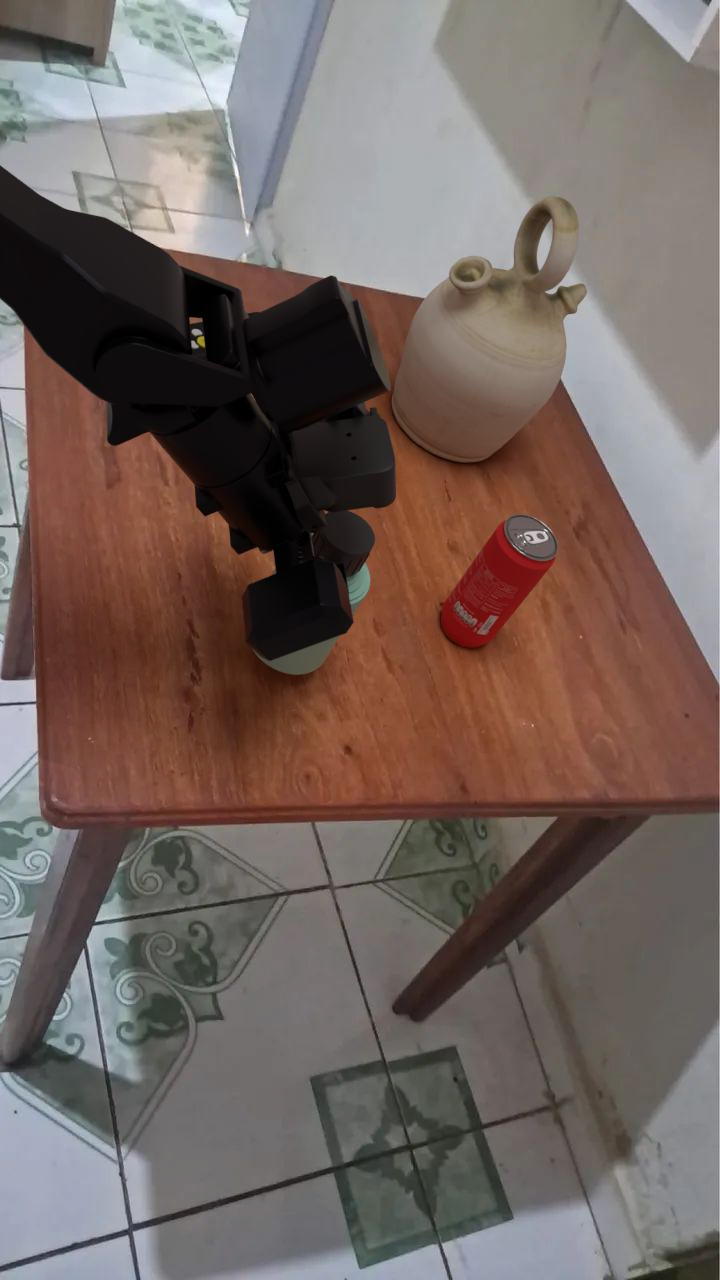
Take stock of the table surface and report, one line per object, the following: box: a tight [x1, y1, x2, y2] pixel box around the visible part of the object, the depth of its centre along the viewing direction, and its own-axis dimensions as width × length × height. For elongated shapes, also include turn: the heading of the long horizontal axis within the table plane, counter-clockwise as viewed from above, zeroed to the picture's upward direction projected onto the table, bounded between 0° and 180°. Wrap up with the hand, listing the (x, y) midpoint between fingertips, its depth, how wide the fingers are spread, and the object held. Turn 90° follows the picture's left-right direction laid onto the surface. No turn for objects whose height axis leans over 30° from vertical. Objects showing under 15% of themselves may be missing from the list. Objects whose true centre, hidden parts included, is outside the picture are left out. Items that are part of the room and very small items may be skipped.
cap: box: [312, 510, 376, 578], centre depth 64 cm, size 4×4×2 cm
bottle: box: [252, 533, 371, 676], centre depth 67 cm, size 6×6×12 cm
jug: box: [391, 195, 588, 464], centre depth 90 cm, size 15×16×25 cm
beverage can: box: [440, 513, 559, 649], centre depth 78 cm, size 5×5×12 cm
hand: (336, 588), depth 67 cm, fingers closed on bottle, 6 cm apart
